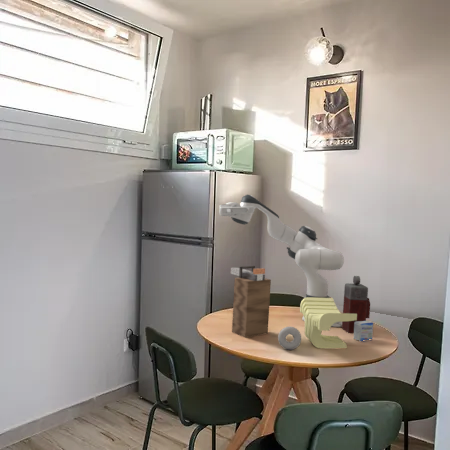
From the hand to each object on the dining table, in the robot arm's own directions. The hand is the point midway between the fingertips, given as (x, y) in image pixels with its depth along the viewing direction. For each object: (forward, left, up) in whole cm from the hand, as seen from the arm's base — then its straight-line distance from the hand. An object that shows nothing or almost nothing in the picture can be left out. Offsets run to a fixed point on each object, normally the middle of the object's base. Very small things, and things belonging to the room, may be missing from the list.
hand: (239, 210), depth 251 cm
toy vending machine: (-67, +1, -57) cm, 88 cm away
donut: (-45, +48, -58) cm, 87 cm away
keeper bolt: (-17, +31, -31) cm, 48 cm away
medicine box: (-72, +15, -58) cm, 93 cm away
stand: (-22, +34, -57) cm, 70 cm away
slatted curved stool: (-57, +31, -58) cm, 87 cm away
